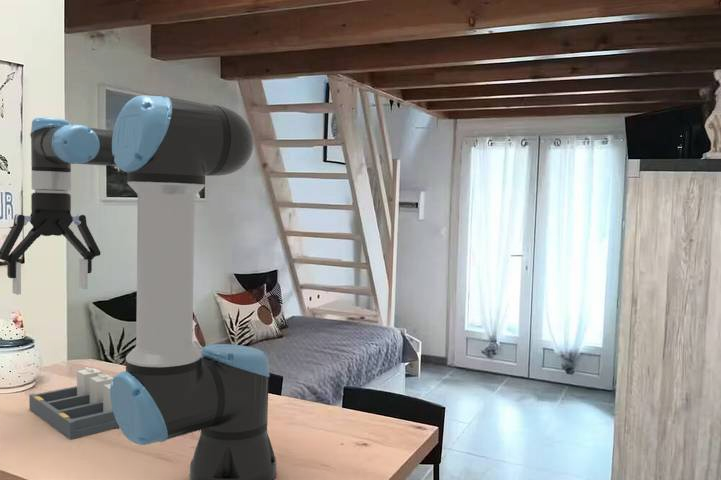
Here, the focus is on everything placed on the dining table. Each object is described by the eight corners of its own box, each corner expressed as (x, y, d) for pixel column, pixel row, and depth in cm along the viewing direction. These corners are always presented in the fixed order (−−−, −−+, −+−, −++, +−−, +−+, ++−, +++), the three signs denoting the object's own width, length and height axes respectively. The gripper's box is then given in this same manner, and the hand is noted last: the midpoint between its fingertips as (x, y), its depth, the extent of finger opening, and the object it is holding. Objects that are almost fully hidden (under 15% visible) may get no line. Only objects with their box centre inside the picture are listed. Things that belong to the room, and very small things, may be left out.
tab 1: (129, 412, 134) (129, 383, 134) (111, 417, 131) (111, 386, 131) (120, 407, 137) (121, 378, 136) (103, 412, 134) (103, 382, 134)
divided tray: (141, 421, 134) (141, 405, 133) (70, 439, 123) (70, 421, 123) (95, 395, 149) (95, 380, 149) (29, 409, 139) (29, 393, 138)
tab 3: (101, 396, 144) (101, 369, 143) (84, 400, 141) (84, 372, 140) (94, 392, 147) (94, 365, 146) (77, 396, 144) (77, 368, 143)
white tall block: (114, 404, 139) (115, 375, 139) (97, 408, 136) (97, 379, 136) (107, 400, 142) (107, 372, 141) (89, 403, 139) (89, 375, 138)
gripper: (101, 193, 142) (101, 284, 144) (-21, 189, 124) (-20, 293, 126) (116, 194, 137) (115, 288, 139) (-10, 190, 119) (-9, 298, 121)
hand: (51, 291), depth 132 cm, fingers open, 13 cm apart
